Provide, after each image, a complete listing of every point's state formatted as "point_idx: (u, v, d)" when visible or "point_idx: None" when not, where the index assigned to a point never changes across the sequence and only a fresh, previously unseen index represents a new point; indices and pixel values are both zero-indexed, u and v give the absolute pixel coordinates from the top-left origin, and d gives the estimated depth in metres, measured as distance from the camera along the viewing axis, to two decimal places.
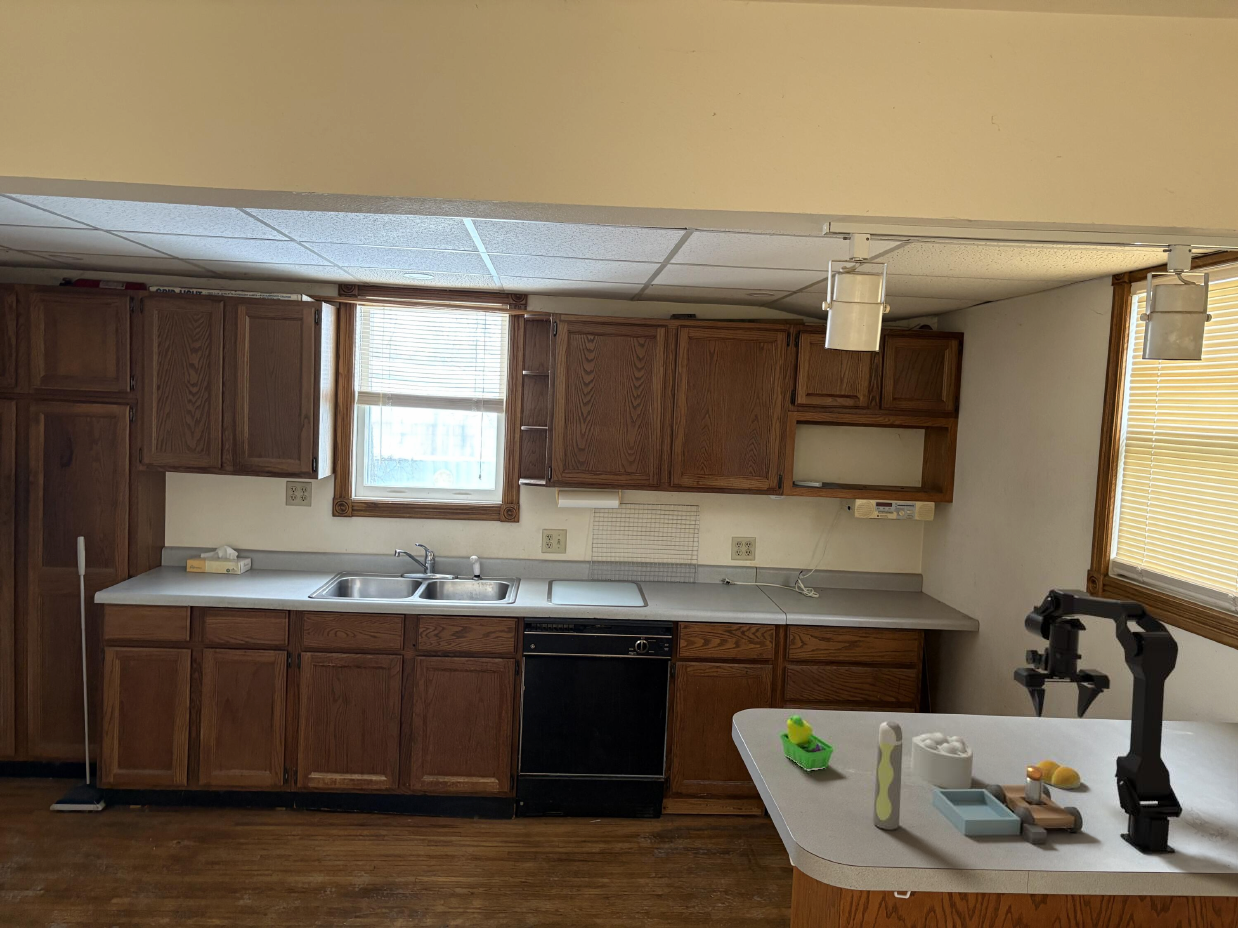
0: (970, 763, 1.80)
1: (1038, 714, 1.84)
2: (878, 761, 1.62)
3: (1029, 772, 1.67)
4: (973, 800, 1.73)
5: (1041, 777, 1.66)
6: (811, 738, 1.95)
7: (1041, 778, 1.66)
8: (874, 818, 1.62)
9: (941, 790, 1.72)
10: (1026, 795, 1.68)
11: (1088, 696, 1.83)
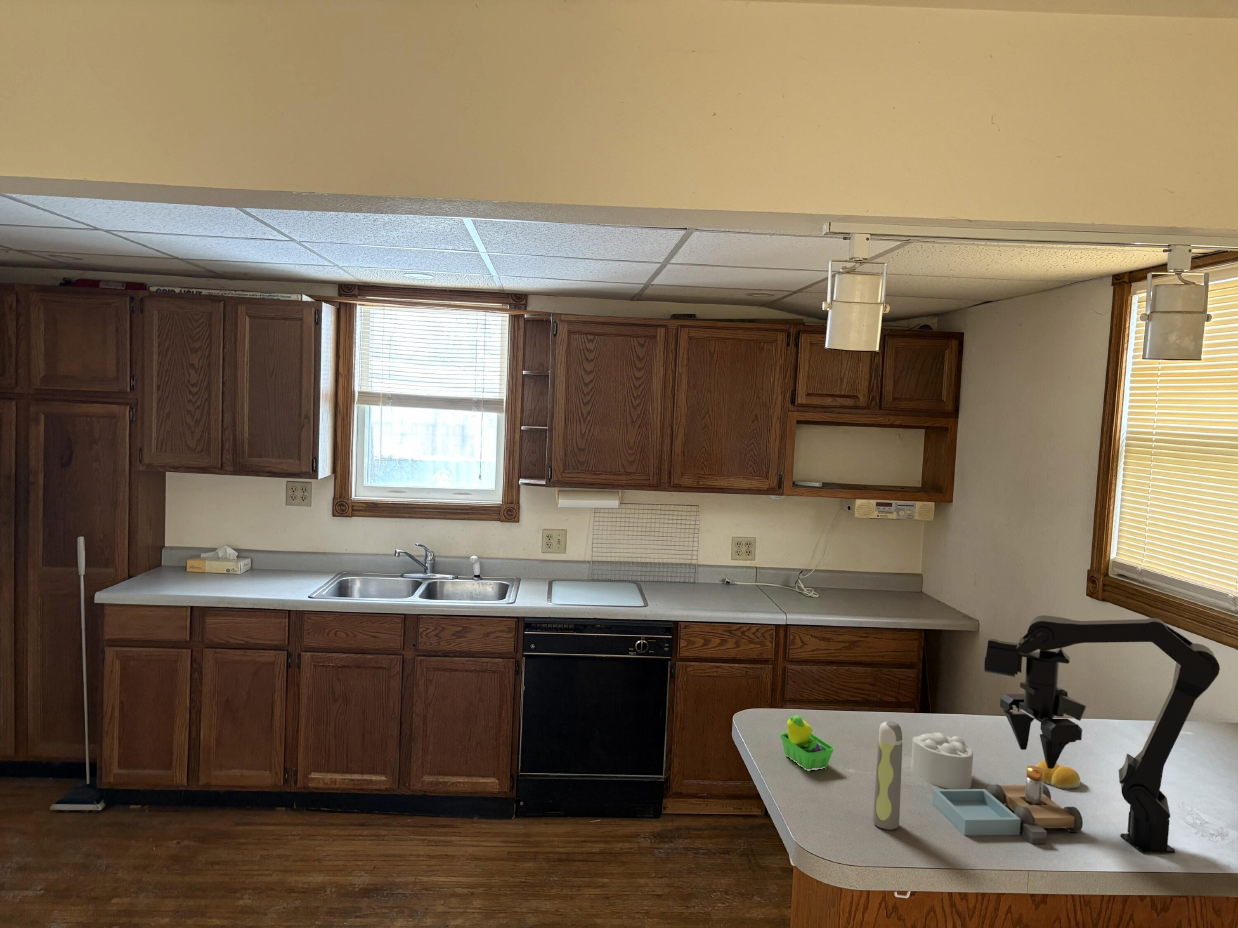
0: (970, 763, 1.80)
1: None
2: (878, 761, 1.62)
3: (1029, 772, 1.67)
4: (973, 800, 1.73)
5: (1041, 777, 1.66)
6: (811, 738, 1.95)
7: (1041, 778, 1.66)
8: (874, 818, 1.62)
9: (941, 790, 1.72)
10: (1026, 795, 1.68)
11: None
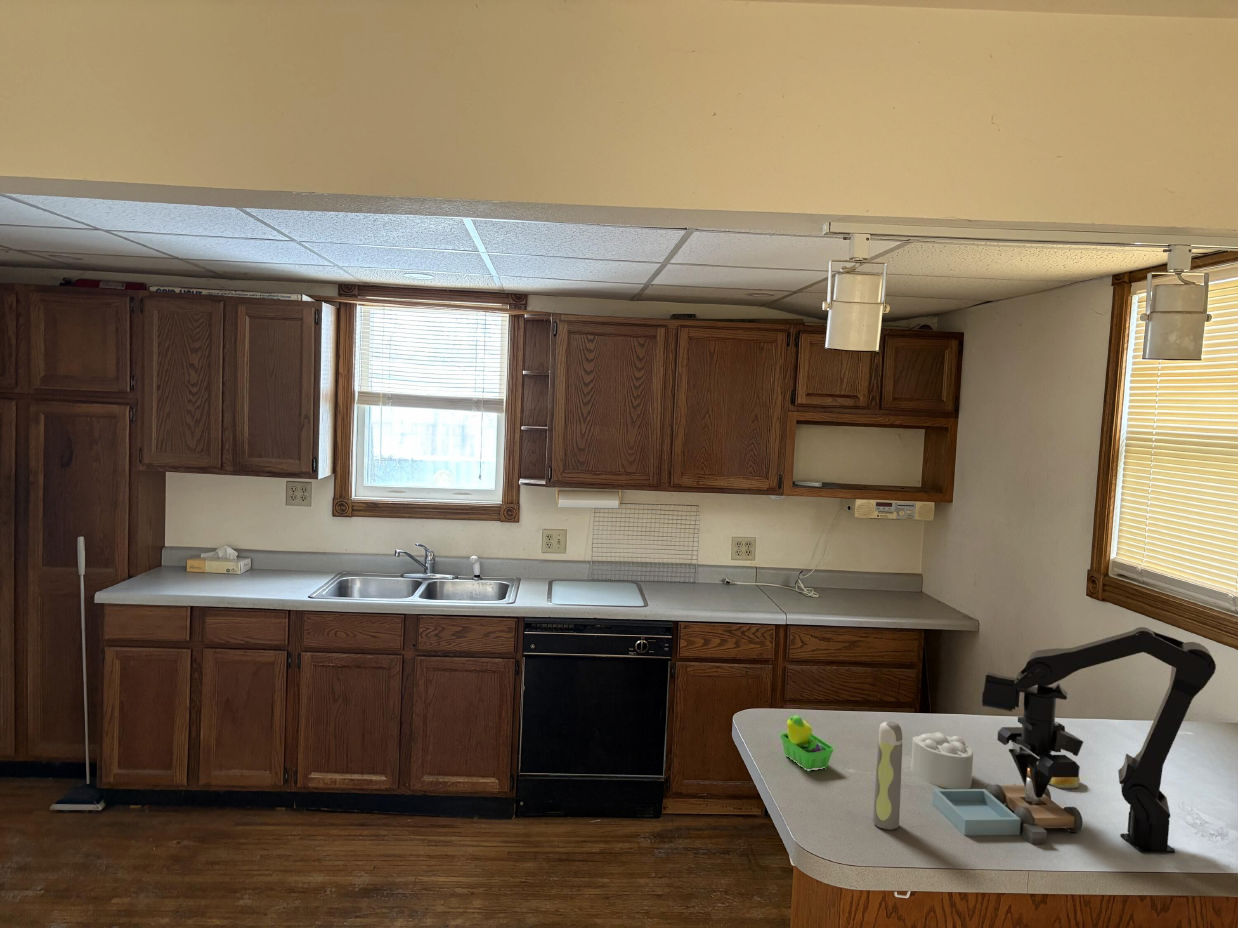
0: (970, 763, 1.81)
1: None
2: (878, 761, 1.62)
3: (1029, 772, 1.67)
4: (973, 800, 1.73)
5: None
6: (811, 738, 1.95)
7: None
8: (874, 818, 1.62)
9: (941, 790, 1.72)
10: (1026, 795, 1.68)
11: None
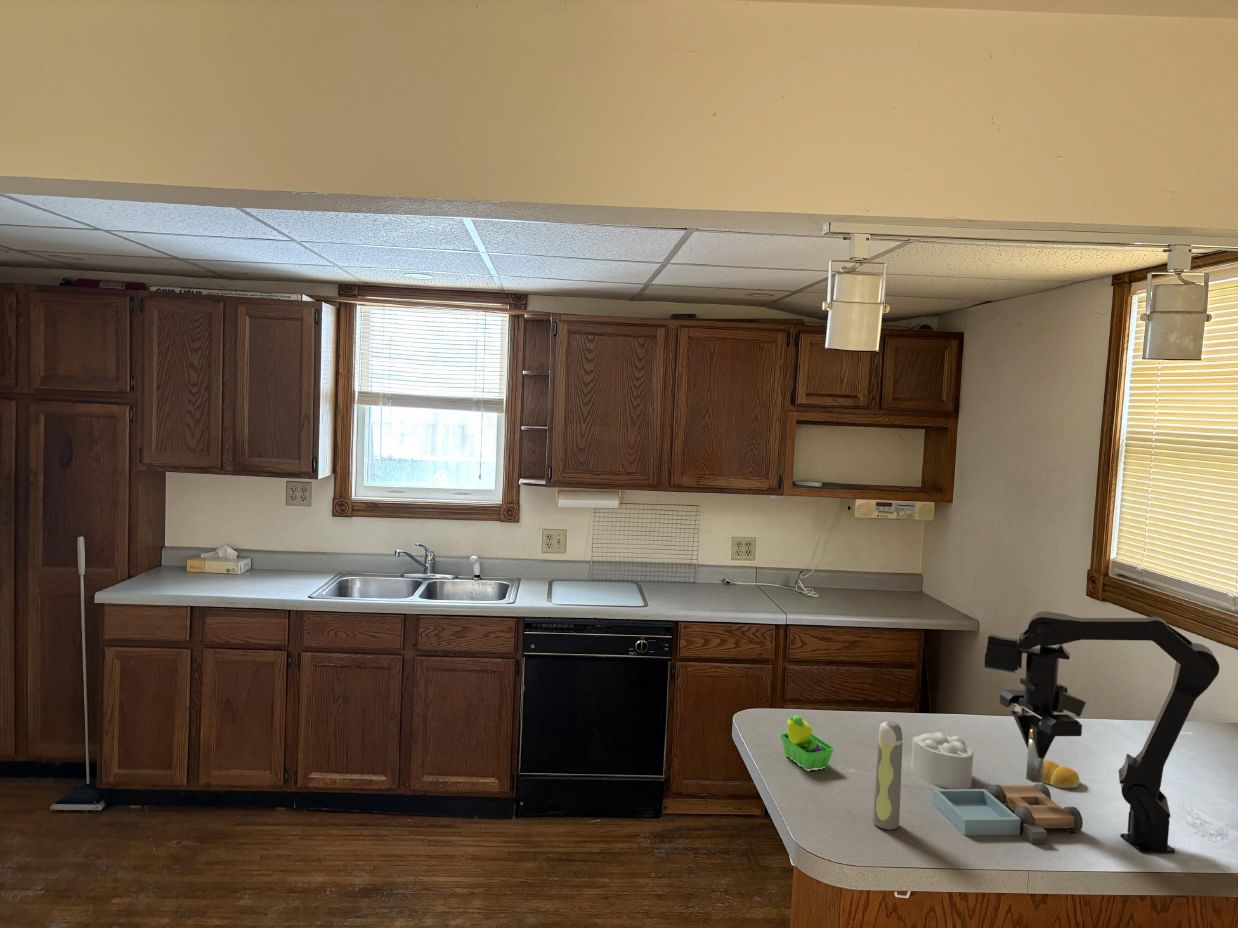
0: (970, 763, 1.81)
1: None
2: (878, 761, 1.62)
3: (1031, 733, 1.66)
4: (973, 800, 1.73)
5: None
6: (811, 738, 1.95)
7: None
8: (874, 818, 1.62)
9: (941, 790, 1.72)
10: (1028, 756, 1.67)
11: None
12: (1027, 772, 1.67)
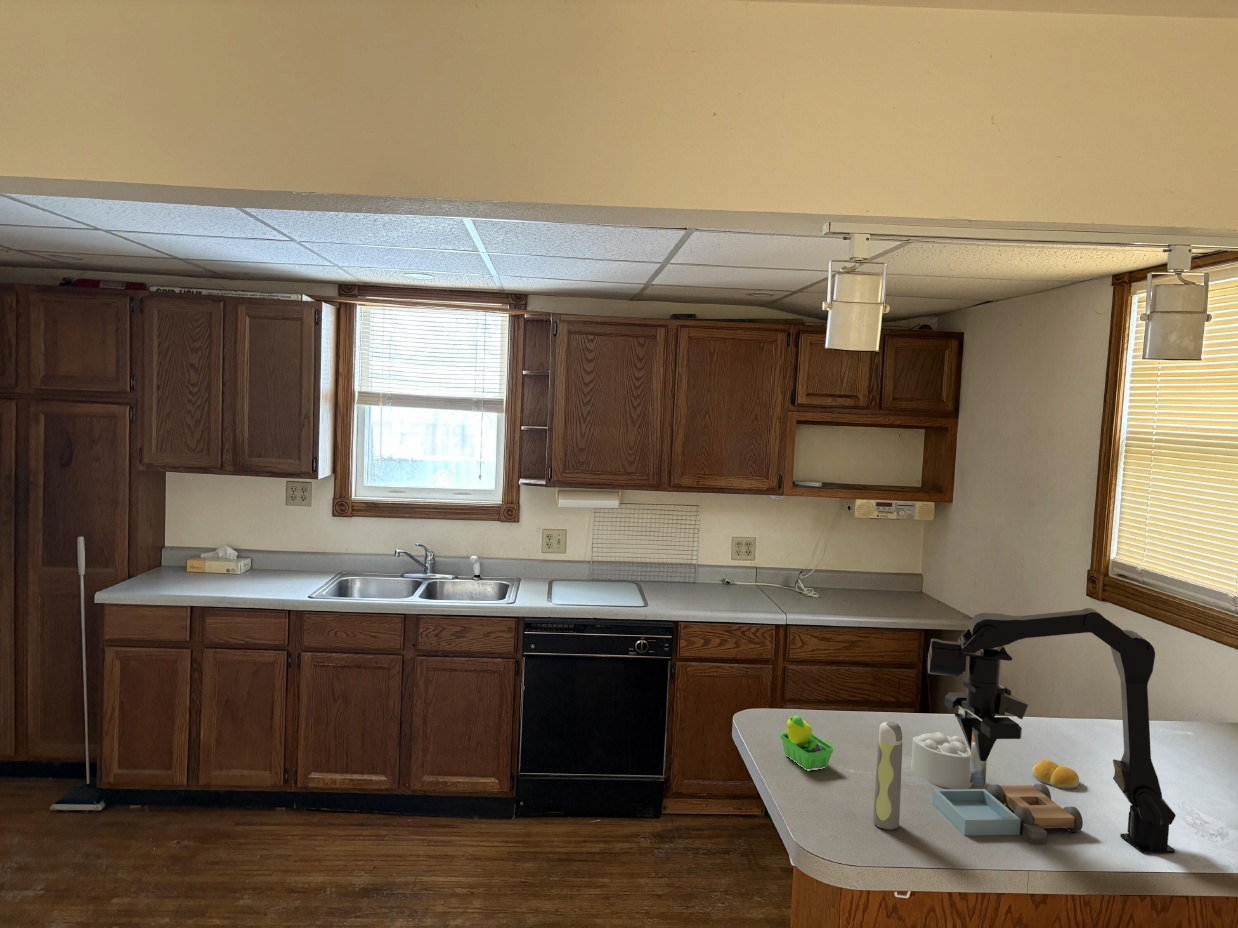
0: None
1: None
2: (878, 761, 1.62)
3: None
4: (973, 800, 1.73)
5: None
6: (811, 738, 1.95)
7: None
8: (874, 818, 1.62)
9: (941, 790, 1.72)
10: (971, 759, 1.66)
11: None
12: (970, 775, 1.66)
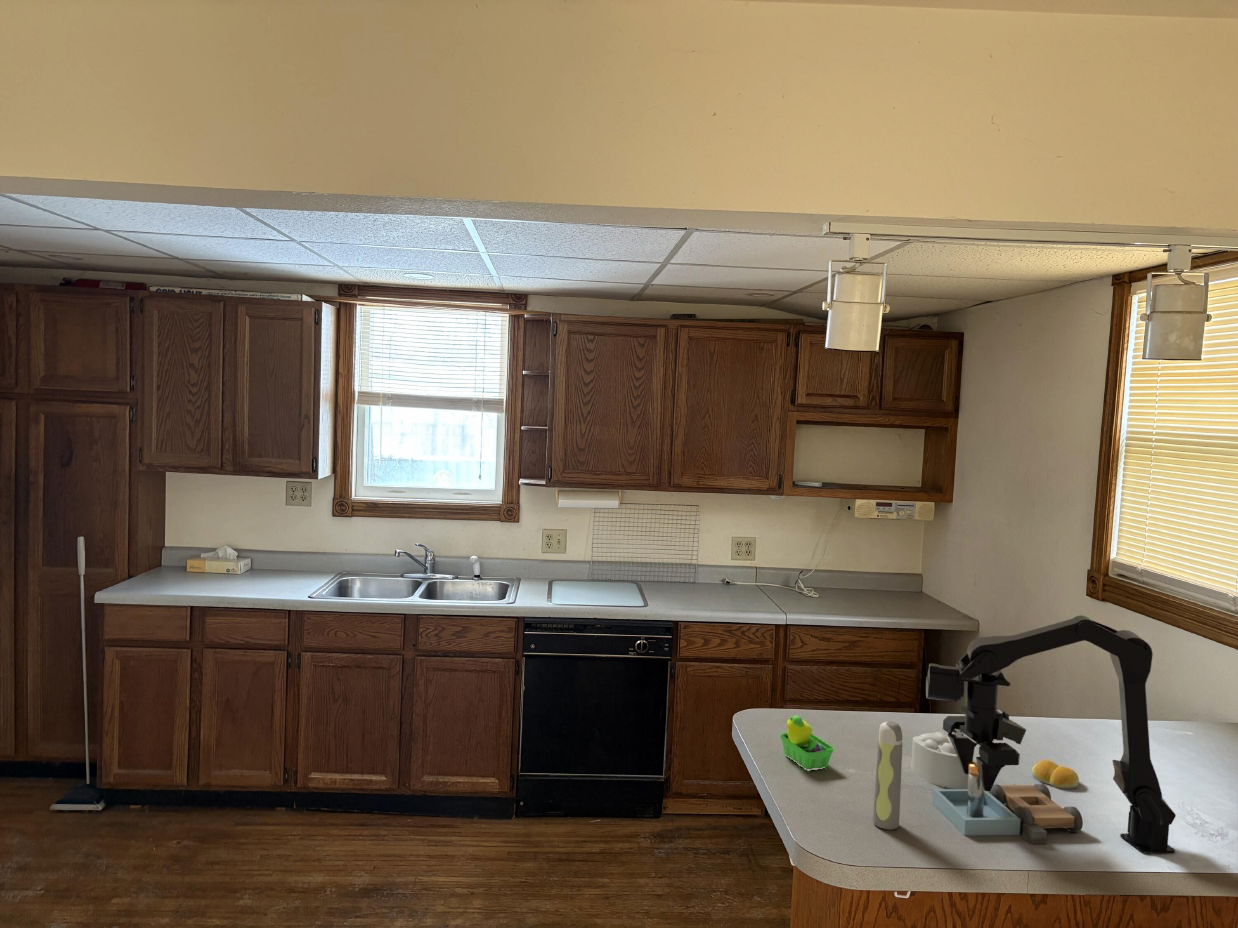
0: None
1: None
2: (878, 761, 1.62)
3: (971, 768, 1.66)
4: None
5: None
6: (811, 738, 1.95)
7: None
8: (874, 818, 1.62)
9: (941, 790, 1.72)
10: (968, 791, 1.66)
11: None
12: (967, 807, 1.67)
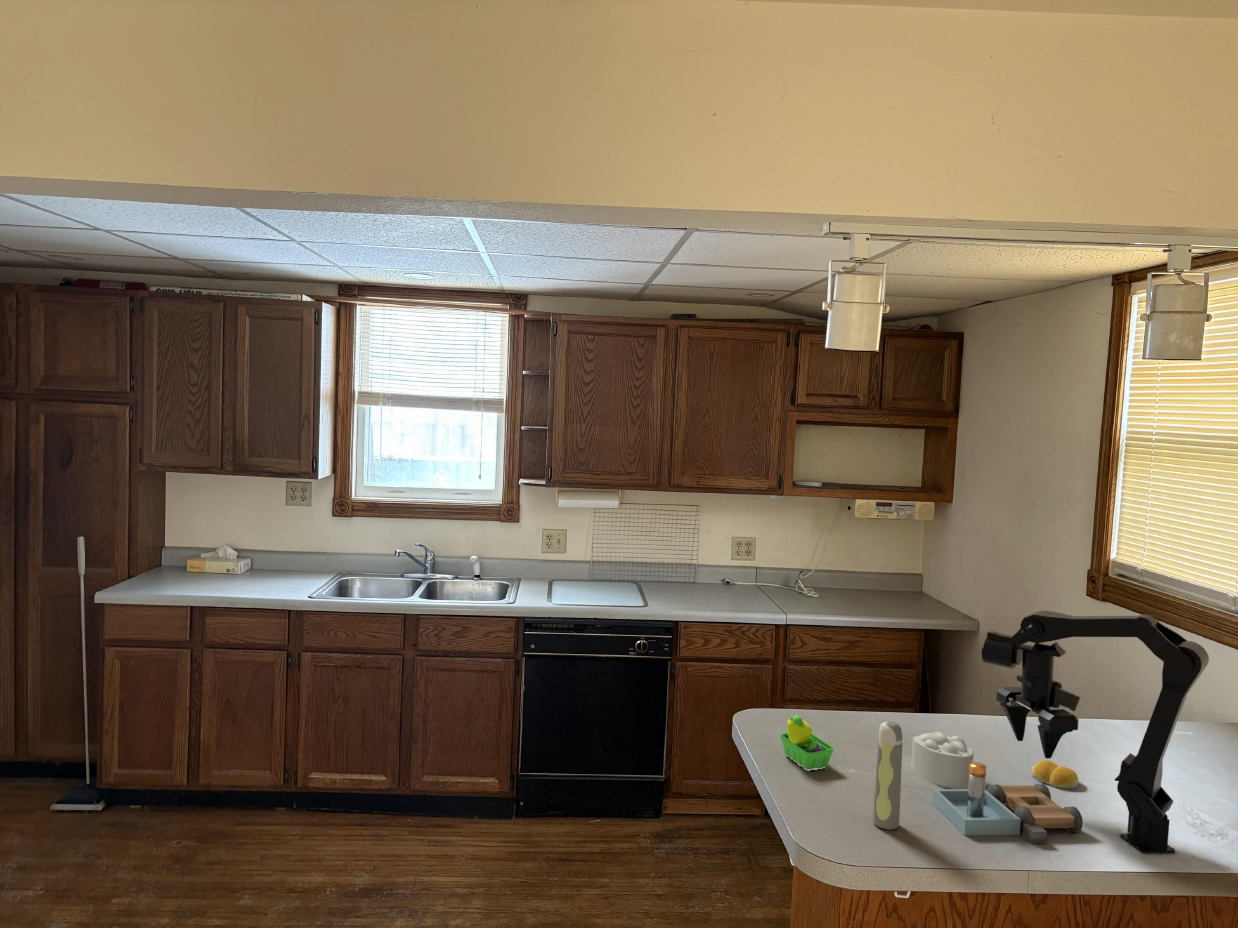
0: None
1: None
2: (878, 761, 1.62)
3: (971, 768, 1.66)
4: None
5: (983, 773, 1.65)
6: (811, 738, 1.95)
7: (983, 774, 1.65)
8: (874, 818, 1.62)
9: (941, 790, 1.72)
10: (969, 792, 1.66)
11: None
12: (967, 807, 1.67)
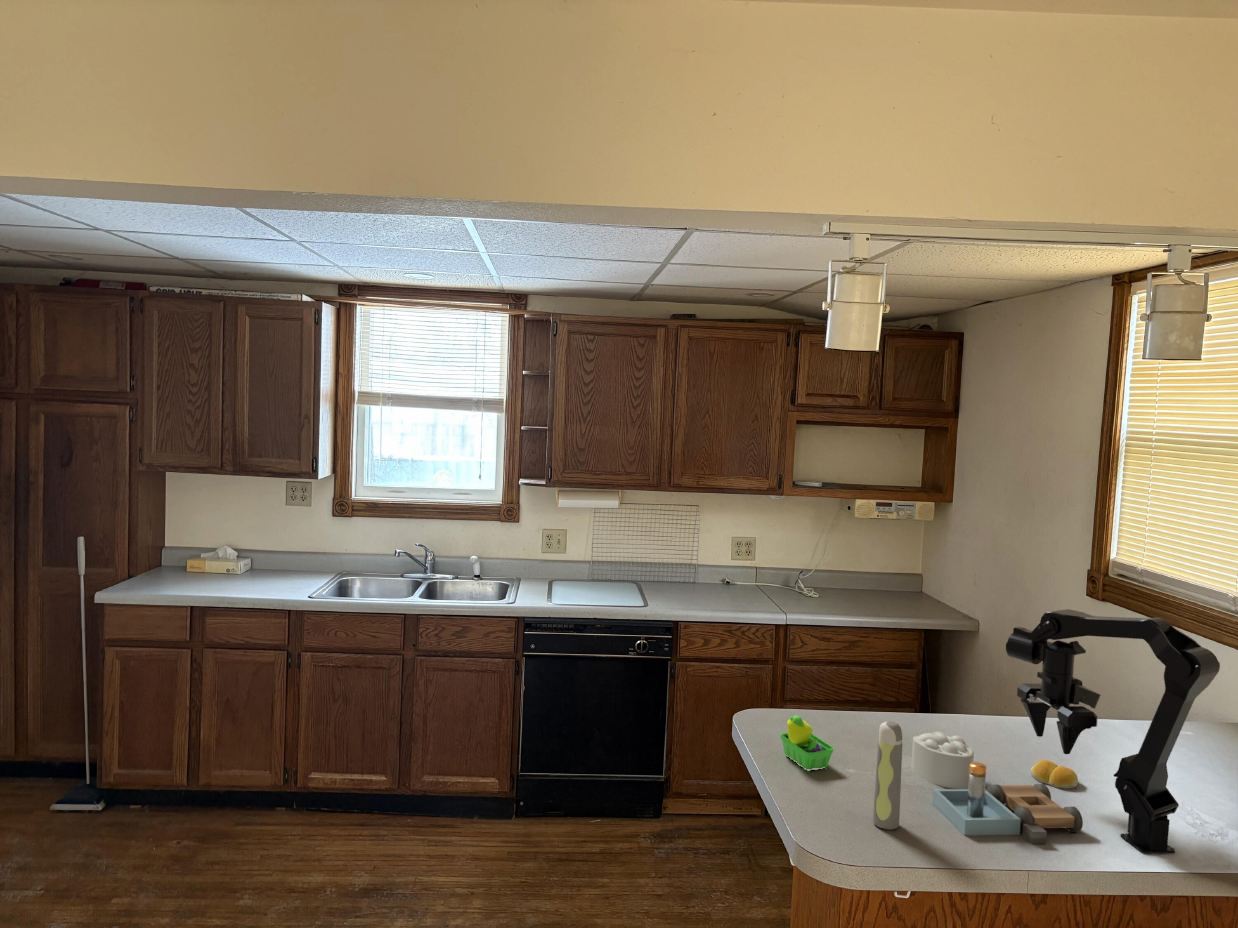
0: None
1: None
2: (878, 761, 1.62)
3: (971, 768, 1.66)
4: None
5: (983, 773, 1.65)
6: (811, 738, 1.95)
7: (983, 774, 1.65)
8: (874, 818, 1.62)
9: (941, 790, 1.72)
10: (969, 792, 1.66)
11: None
12: (967, 807, 1.67)
